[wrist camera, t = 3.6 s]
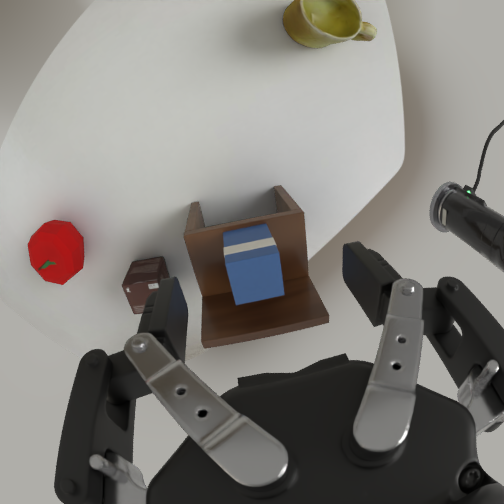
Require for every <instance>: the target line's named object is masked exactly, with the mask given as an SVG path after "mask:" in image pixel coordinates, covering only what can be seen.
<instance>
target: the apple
mask: <svg viewBox="0 0 504 504" xmlns="http://www.w3.org/2000/svg"><path fill="white" fill-rule="evenodd" d="M28 250H29V256H30V262H31V265H32V267H33V268H34V269H35V270H36V271H37V272H38V273H39V275H40V276H41V277H42V278H43V279H44V280H45V281H48V282H52V283H57V284H61V285H63V284H64V283H66V282H67V281H68V280H69V279H70V278H72V277H73V276H74V275H75V274H76V273H78V272H79V271H80V270H81V269H83V263H84V242H83V237H82V236H81V234H80V233H79V232H78V231H77V230H76V228H75V227H74V226H73V225H72V224H71V222H65V221H58V220H53V221H50V222H47V223H44V224H43V225H42V226H41V227H40V228H39V229H38V230H37V231H36V232H35V233H34V234H33V235H32V237H31V239H30V241H29V243H28Z"/></svg>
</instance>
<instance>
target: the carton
mask: <svg viewBox="0 0 504 504" xmlns="http://www.w3.org/2000/svg"><path fill="white" fill-rule="evenodd" d="M223 241H224V248H223V249H224V257H225V265H226V269H227V273H228V277H229V281H230V285H231V288H232V292H233V296H234V300H235V304H236V305H240V304H245V303H249V302H254V301H259V300H264V299H268V298H273V297H278V296H282V295H284V286H283V279H282V271H281V263H280V256H279V251H278V249H277V247H276V243H275V241H274V238H273V237H272V235H271V233H270V231H269V229H268V226H267V224H261V225H256V226H251V227H246V228H241V229H236V230H231V231H227V232H223Z"/></svg>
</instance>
